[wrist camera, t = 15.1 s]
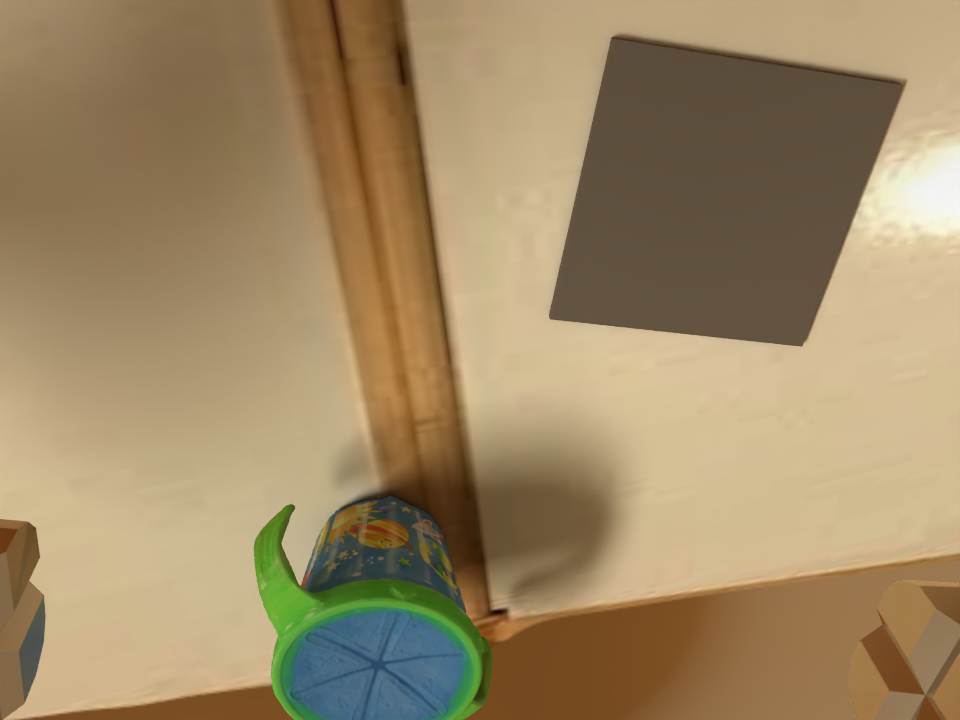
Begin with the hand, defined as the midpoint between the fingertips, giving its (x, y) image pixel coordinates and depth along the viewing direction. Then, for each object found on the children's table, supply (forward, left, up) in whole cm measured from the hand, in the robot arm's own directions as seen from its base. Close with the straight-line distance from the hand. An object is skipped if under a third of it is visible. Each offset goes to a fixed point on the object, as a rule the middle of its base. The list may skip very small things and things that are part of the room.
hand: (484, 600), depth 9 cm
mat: (+16, -7, -35) cm, 39 cm away
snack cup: (+2, -30, -35) cm, 46 cm away
